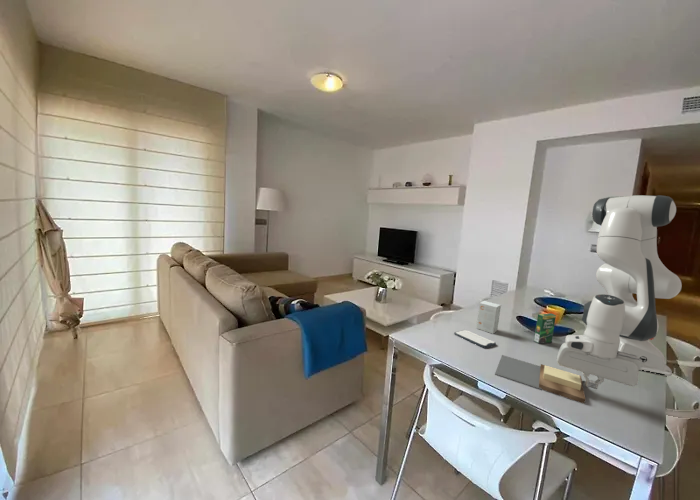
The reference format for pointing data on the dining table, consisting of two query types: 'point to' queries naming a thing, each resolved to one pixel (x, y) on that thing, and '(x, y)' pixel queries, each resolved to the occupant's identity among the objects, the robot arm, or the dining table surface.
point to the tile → (562, 377)
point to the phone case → (475, 339)
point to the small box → (488, 316)
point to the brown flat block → (561, 388)
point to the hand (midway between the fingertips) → (591, 387)
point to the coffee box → (544, 328)
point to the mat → (519, 371)
